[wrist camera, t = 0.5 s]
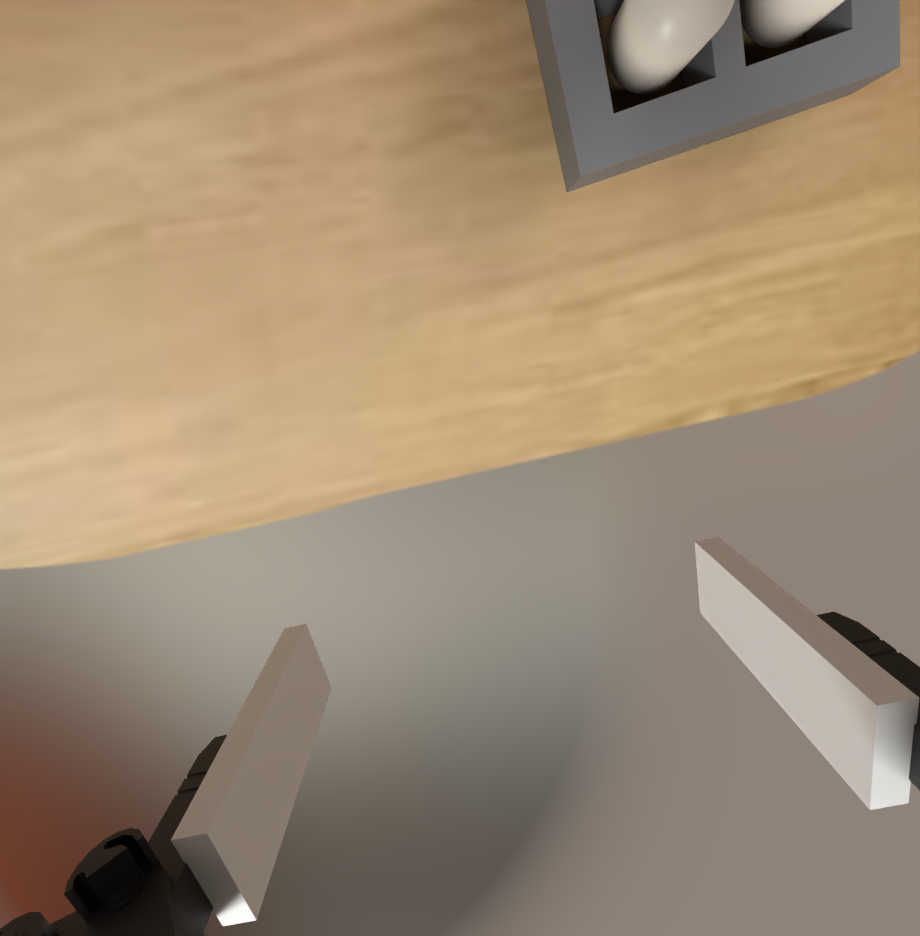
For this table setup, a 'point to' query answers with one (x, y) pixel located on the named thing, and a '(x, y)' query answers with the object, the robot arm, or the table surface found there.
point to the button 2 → (782, 19)
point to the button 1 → (660, 39)
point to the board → (697, 83)
